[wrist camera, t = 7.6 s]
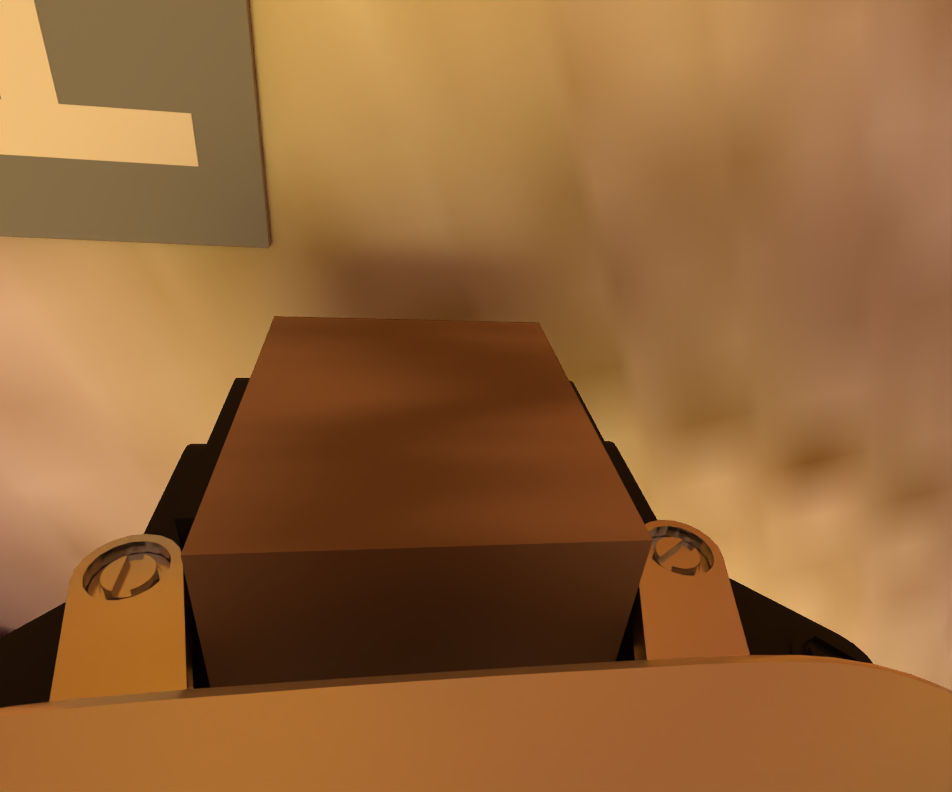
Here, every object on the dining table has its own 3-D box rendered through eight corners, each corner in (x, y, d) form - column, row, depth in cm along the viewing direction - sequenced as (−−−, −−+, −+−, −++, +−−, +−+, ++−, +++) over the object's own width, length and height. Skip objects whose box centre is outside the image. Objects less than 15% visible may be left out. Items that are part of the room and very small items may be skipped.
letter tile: (223, -276, 11) (219, -284, 11) (270, 245, 16) (268, 248, 16) (-403, -374, 10) (-429, -388, 10) (-145, 226, 15) (-156, 229, 15)
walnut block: (538, 322, 12) (652, 539, 7) (510, 515, 14) (579, 780, 9) (274, 316, 11) (180, 554, 6) (293, 521, 14) (238, 812, 9)
